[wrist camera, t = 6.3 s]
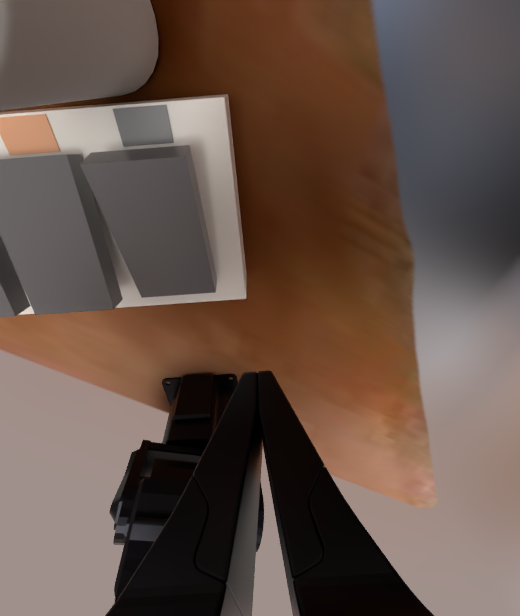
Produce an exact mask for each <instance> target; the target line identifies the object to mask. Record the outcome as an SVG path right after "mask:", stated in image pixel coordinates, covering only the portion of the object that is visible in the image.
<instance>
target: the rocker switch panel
mask: <svg viewBox="0 0 520 616" xmlns="http://www.w3.org/2000/svg"><path fill="white" fill-rule="evenodd" d="M183 145H190V149H191V154H192V159H193V164H194V169H195V173H196V178H197V183H198V188H199V193H200V198H201V203H202V207H203V212H204V217H205V222H206V227H207V232H208V237H209V241H210V246H211V251H212V256H213V261H214V266H215V271H216V275H217V284H216V293H201V294H187V295H173V296H159V297H145V298H141V295H140V293H139V291H138V289H137V287H136V285H135V282H134V280H133V278H132V276H131V274H130V272H129V269H128V267H127V265H126V263H125V261H124V259H123V256H122V254H121V252H120V250H119V248H118V246H117V243H116V241H115V239H114V237H113V235H112V233H111V230H110V228H109V226H108V224H107V222H106V220H105V217H104V215H103V213H102V211H101V209H100V207H99V204H98V202H97V200H96V198H95V196H94V194H93V191H92V194H93V197H94V201H95V204H96V208H97V211H98V215H99V218H100V222H101V225H102V228H103V232H104V235H105V239H106V242H107V246H108V249H109V253H110V256H111V260H112V263H113V267H114V270H115V274H116V277H117V281H118V284H119V288H120V291H121V295H122V298H123V300H122V301H121V302H120V303H119V304H118V305H117V306H116V308H121V307H135V306H150V305H164V304H178V303H193V302H207V301H221V300H235V299H246V276H247V273H246V264H245V254H244V244H243V234H242V225H241V215H240V205H239V195H238V186H237V176H236V166H235V156H234V147H233V137H232V127H231V117H230V108H229V98H228V94H224V95H211V96H199V97H186V98H173V99H161V100H148V101H135V102H123V103H110V104H97V105H85V106H72V107H59V108H47V109H34V110H21V111H9V112H0V159H12V158H25V157H38V156H51V155H64V154H81V155H82V159H83V161H84V160H85V158H86V157H87V156H88V155H89V154H90V153H92V152H105V151H118V150H131V149H144V148H157V147H170V146H183ZM91 190H92V189H91ZM0 236H1V235H0ZM1 239H2V237H1ZM2 241H3V239H2ZM3 243H4V242H3ZM4 245H5V244H4ZM5 248H6V246H5ZM6 250H7V249H6ZM7 252H8V251H7ZM8 255H9V253H8ZM9 257H10V256H9ZM10 259H11V258H10ZM11 262H12V260H11ZM12 264H13V263H12ZM13 266H14V265H13ZM14 268H15V267H14ZM15 271H16V269H15ZM16 273H17V272H16ZM17 275H18V274H17ZM18 278H19V276H18ZM19 280H20V279H19ZM20 282H21V281H20ZM21 285H22V283H21ZM22 287H23V286H22ZM23 289H24V288H23ZM24 291H25V290H24ZM25 294H26V293H25ZM26 296H27V295H26ZM27 298H28V297H27ZM28 301H29V299H28ZM29 303H30V302H29ZM30 305H31V304H30ZM21 314H35V313H34V311H33V309H32V306H30V307H28V308H27V309H25V310H24V311H22V312H21V313H20V314H18V315H21Z"/></svg>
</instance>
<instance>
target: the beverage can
mask: <svg viewBox="0 0 520 616" xmlns="http://www.w3.org/2000/svg"><path fill="white" fill-rule="evenodd" d="M157 58H158V32H157V25H156V19H155V15H154V12H153V8H152V5H151V2H150V0H0V111H3V110H11V109H19V108H27V107H34V106H42V105H50V104H58V103H66V102H74V101H82V100H90V99H98V98H106V97H113V96H121V95H125V94H128V93H131V92H134V91H136V90H137V89H139V88H140V87H141V86H143V85H144V84H145V83H146V82H147V80H148V79H149V77H150V76H151V74H152V73H153V71H154V68H155V64H156V61H157Z"/></svg>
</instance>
